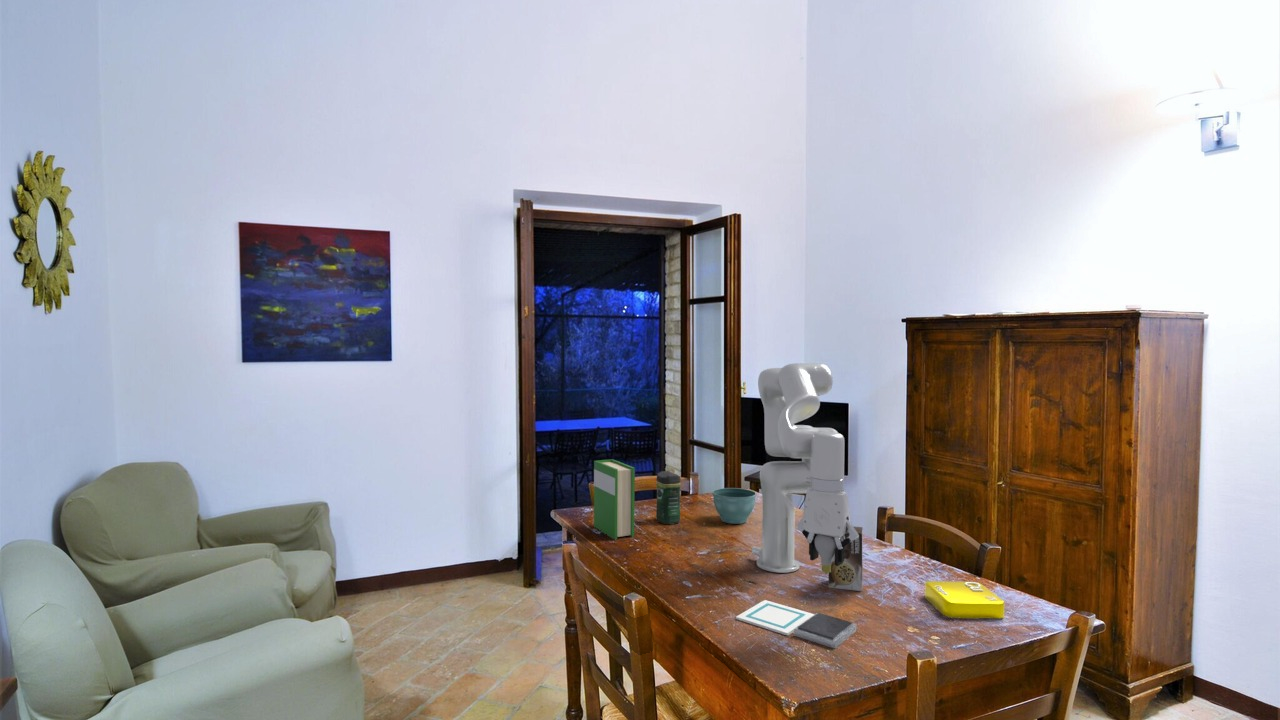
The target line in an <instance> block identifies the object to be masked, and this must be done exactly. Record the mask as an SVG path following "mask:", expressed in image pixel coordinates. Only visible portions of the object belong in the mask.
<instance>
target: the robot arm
mask: <svg viewBox="0 0 1280 720" xmlns="http://www.w3.org/2000/svg"><path fill="white" fill-rule="evenodd" d="M833 382H834V380H833V374H832V371H831V369H830V368H829V366H827V365H826V364H823V363H818V362H817V363H815V362H814V363H813V362H812V363H811V362H810V363H809V362H808V363H797V362H796V363H788V364H786V365H784V366H783V367H772V368H766V369H763V370H762V371H761V372H760V373H759V374H758V379H757V386H758V387H757V389H758V394H759V397H760V400H761V402H762V405H763V413H764V446H765V447H764V448H765V452H766V454H768V455H769V456H771V457H775V458H776V457H780V458H781V457H782V458H790V459H801V460H800V461H797V460H796V461H791V460H788V461H787V460H778V461H777V460H776V461H775V460H774V461H769V462H766V463H764V464H763V465H762V466H761V467H760V470H759V480H760V487H761V496H762V498H761V499H762V523H761V524H762V525H761V526H762V527H761V528H762V529H761V530H762V533H761V534H762V535H761V536H762V537H761V539H762V541H761V547H760V546H759V547H758V546H754V545H753V546H752V547H751V554H752V555H754V556H758V558H757V559H756V566H757V567H758V568H760V569H762V570H764V571H767V572H771V573H781V574H783V573H784V574H786V573H793V572H796V571H798V570H799V569H800V562H799V561H798V560H796V559H795V537H796V536H795V528H796V527H797V529H798V530H799V531H800V532H801V534H802V535H803V536H804V538H805V539H806V541H807V544H808V555H809V560H810V561H815V560H817V559H818V558H819V557H820V555H819V553H818V551H817V549H816V547H815V538H816V536H817V534H821V535H826V536H831V537H834V538H835V541H836V545H837V548H836V549H835V566H839V565H841V564H842V563H843V562H844V559H845V547H846V546H847V545H848V544H849V543H851V542H852V541H853V540H855V539H856V538H858V537H859V534H858V533H857V531H856V530H855V529H854V527H855V526H853V524H852V523H851V516H850V503H849V499H848V493H847V492H846V491H845V444H846V443H845V437H844V435H843V434H841V433H839V432H838V430H836V429H834V428H832V427H813V426H812V425H805V424H797V423H800V422H802V421H804V420H807V419H809V418H810V417H812V416H814V415H815V414H816V413H817V412H818V411H819V409H820V406H821V400H820V397H819V396H823V395H826V394H828V393H830V392H831V389H832V387H833ZM789 494H790V495H792V494H805V499H804V504H803V506H804V507H803V511H802V512H803V513H802V518H801V519H800V520H799V521H797V523H795V520H796V519H795V518H796V512H795V506H794V504H793V503H792V501H791V500H790V499H789V498H788V496H787V495H789ZM795 525H796V526H795ZM847 533H849V534H850V535H849V537H847V538H846V539H845V536H844V534H847Z"/></svg>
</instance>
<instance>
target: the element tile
mask: <svg viewBox="0 0 1280 720" xmlns="http://www.w3.org/2000/svg"><path fill="white" fill-rule="evenodd" d="M924 598H925V599H926V600H927V601H928V602H929V603H930V604H931V605H932V606H933V607H934V606H935V607H934V608H937V609H938V610H939V611H940V612H941V613H940V614H941V615H943V616H944V615H945V616H944V617H946V616H948V617H947V618H950V617H955V618H954V619H978V618H999V619H998V620H1001V618H1002V619H1004V618H1005V606H1006V604H1005V601H1004V600H1003V599H1002V598H1000V597H999V596H998V595H996V594H995V593H994V592H993V591H991V590H990V589H988V588H987V586H985V585H983V584H982V583H980V582H977V581H950V580H949V581H944V580H943V581H939V580H937V581H936V580H933V581H932V580H927V581H925V583H924ZM937 609H936V610H937ZM939 611H938V612H939ZM959 617H960V618H959Z"/></svg>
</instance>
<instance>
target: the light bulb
mask: <svg viewBox="0 0 1280 720" xmlns="http://www.w3.org/2000/svg"><path fill="white" fill-rule="evenodd" d="M815 547H816V549H817V551H818V553H819V557H820V560H821V572H822V573H824V574H828V575H829V573H830V572H831V560H832V557H833V556H834V554H835V549H836V548H837V545H836V541H835V538H834V537H831V536H826V535H821V534H817V536H816V538H815Z"/></svg>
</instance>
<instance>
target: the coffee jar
mask: <svg viewBox="0 0 1280 720" xmlns="http://www.w3.org/2000/svg"><path fill="white" fill-rule="evenodd" d="M681 484H682V483H681V476H680V475H679V474H676V473H673V472H671V471H669V470H666V471H659V472H658V473H657V475H656V510H655V511H656V513H655V514H656V516H655V518H656V520H657V522H659V523H661V524H663V525H667V524H668V525H669V524H670V525H675V524H679V523H680V522H681Z"/></svg>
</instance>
